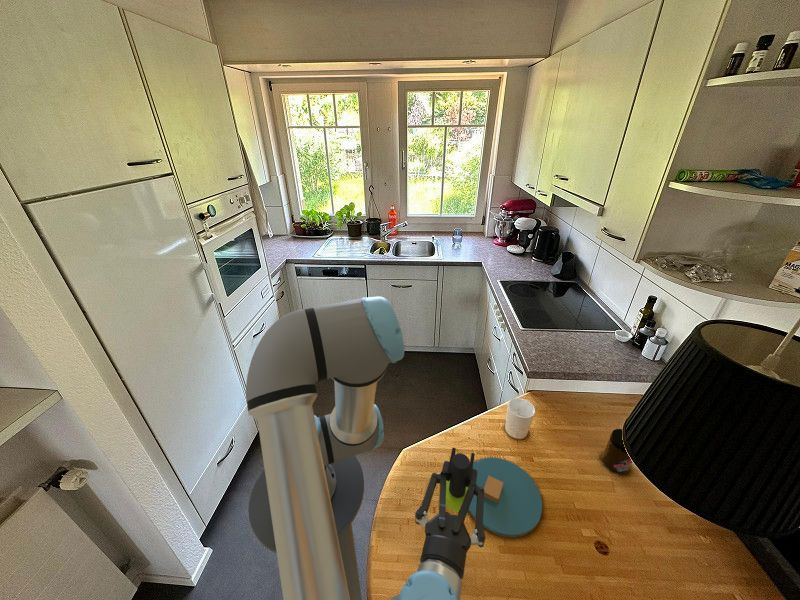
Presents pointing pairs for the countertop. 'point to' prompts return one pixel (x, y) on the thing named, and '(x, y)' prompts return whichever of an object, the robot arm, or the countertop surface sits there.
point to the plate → (508, 499)
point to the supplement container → (616, 453)
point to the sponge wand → (457, 482)
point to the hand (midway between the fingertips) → (463, 454)
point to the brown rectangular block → (493, 489)
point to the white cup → (519, 417)
